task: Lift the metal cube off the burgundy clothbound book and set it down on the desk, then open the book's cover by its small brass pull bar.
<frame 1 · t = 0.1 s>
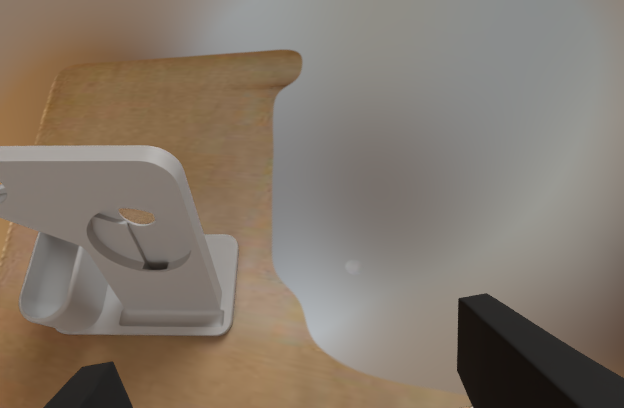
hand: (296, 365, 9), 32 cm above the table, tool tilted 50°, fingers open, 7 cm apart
phone holder: (150, 283, 43), on the table
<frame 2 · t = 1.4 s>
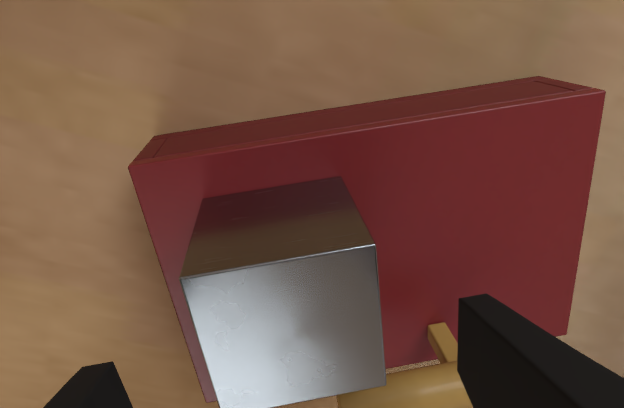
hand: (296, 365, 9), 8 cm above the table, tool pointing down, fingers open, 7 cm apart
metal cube: (283, 246, 14), point 3 cm above the table, touching cover
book: (361, 217, 17), on the table
cover: (395, 288, 13), point 5 cm above the table, hinge at -0.3°, touching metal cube
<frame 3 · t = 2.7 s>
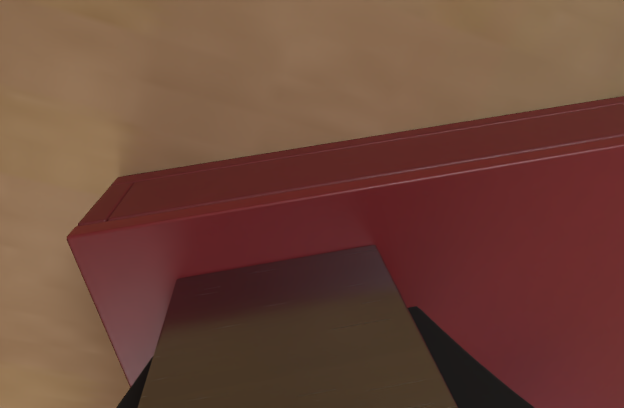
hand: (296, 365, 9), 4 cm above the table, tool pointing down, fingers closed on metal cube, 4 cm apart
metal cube: (291, 337, 10), point 3 cm above the table, touching cover, gripper
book: (390, 275, 13), on the table
cover: (451, 401, 9), point 5 cm above the table, hinge at -0.3°, touching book, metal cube
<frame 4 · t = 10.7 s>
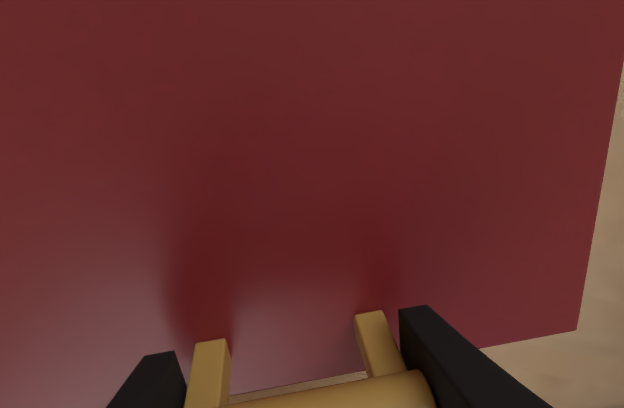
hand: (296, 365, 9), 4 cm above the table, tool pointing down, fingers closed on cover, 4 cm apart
cover: (269, 244, 7), point 5 cm above the table, hinge at -0.3°, touching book, gripper
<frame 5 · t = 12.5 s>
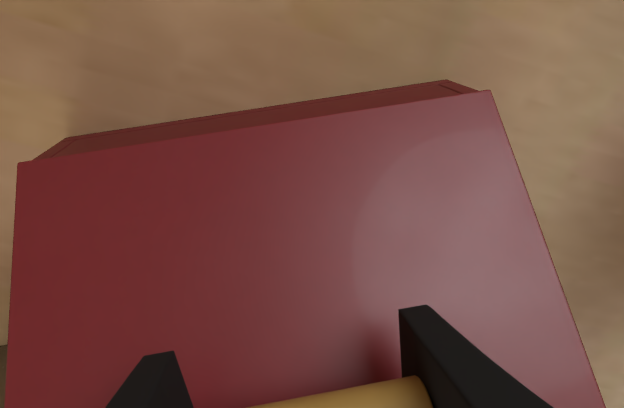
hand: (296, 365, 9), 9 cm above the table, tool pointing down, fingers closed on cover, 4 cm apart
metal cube: (41, 376, 19), on the table
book: (280, 217, 18), on the table
cover: (281, 273, 10), point 8 cm above the table, hinge at 43.7°, touching gripper
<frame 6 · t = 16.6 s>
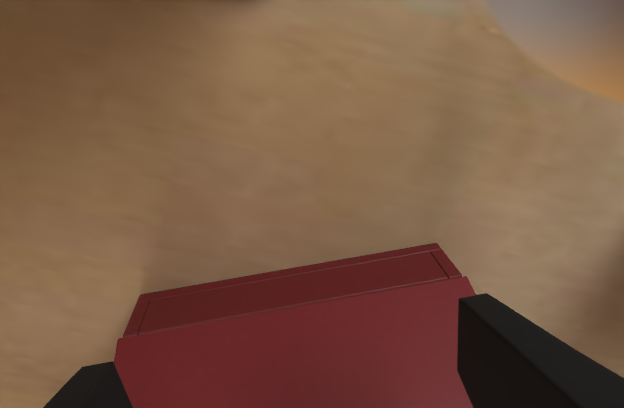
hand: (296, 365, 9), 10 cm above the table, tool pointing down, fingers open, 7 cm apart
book: (304, 342, 22), on the table
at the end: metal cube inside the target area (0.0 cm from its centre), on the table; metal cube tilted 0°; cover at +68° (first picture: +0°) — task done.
